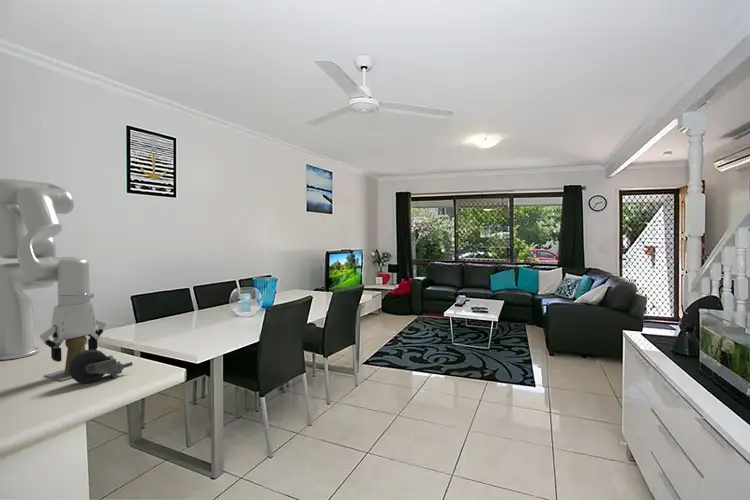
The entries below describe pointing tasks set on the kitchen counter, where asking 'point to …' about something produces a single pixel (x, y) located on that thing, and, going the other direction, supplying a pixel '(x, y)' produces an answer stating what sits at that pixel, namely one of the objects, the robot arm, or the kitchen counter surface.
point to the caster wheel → (94, 366)
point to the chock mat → (59, 376)
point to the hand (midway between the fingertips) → (75, 356)
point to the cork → (74, 350)
